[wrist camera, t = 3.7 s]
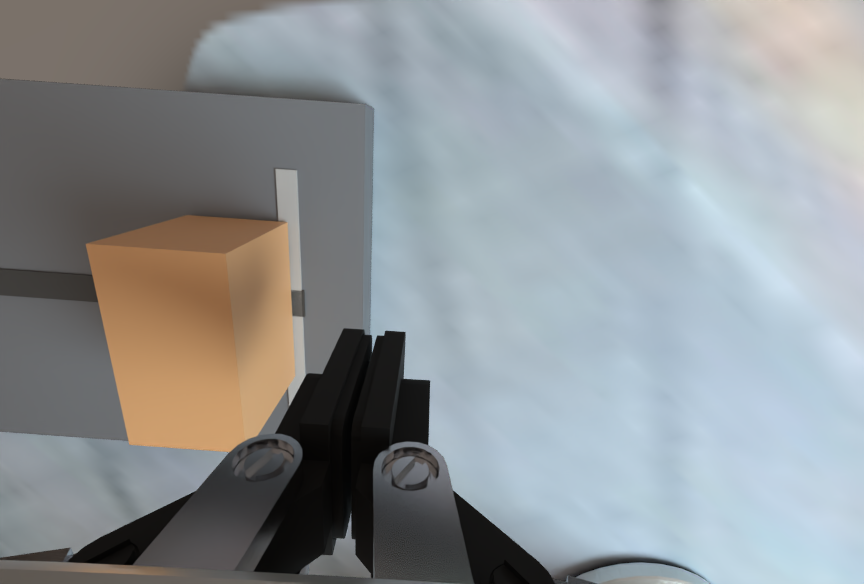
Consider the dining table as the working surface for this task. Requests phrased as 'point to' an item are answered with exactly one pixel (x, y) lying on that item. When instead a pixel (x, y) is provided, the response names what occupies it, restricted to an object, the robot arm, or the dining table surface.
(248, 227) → the fader knob
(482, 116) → the dining table surface
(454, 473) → the dining table surface
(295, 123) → the fader console
